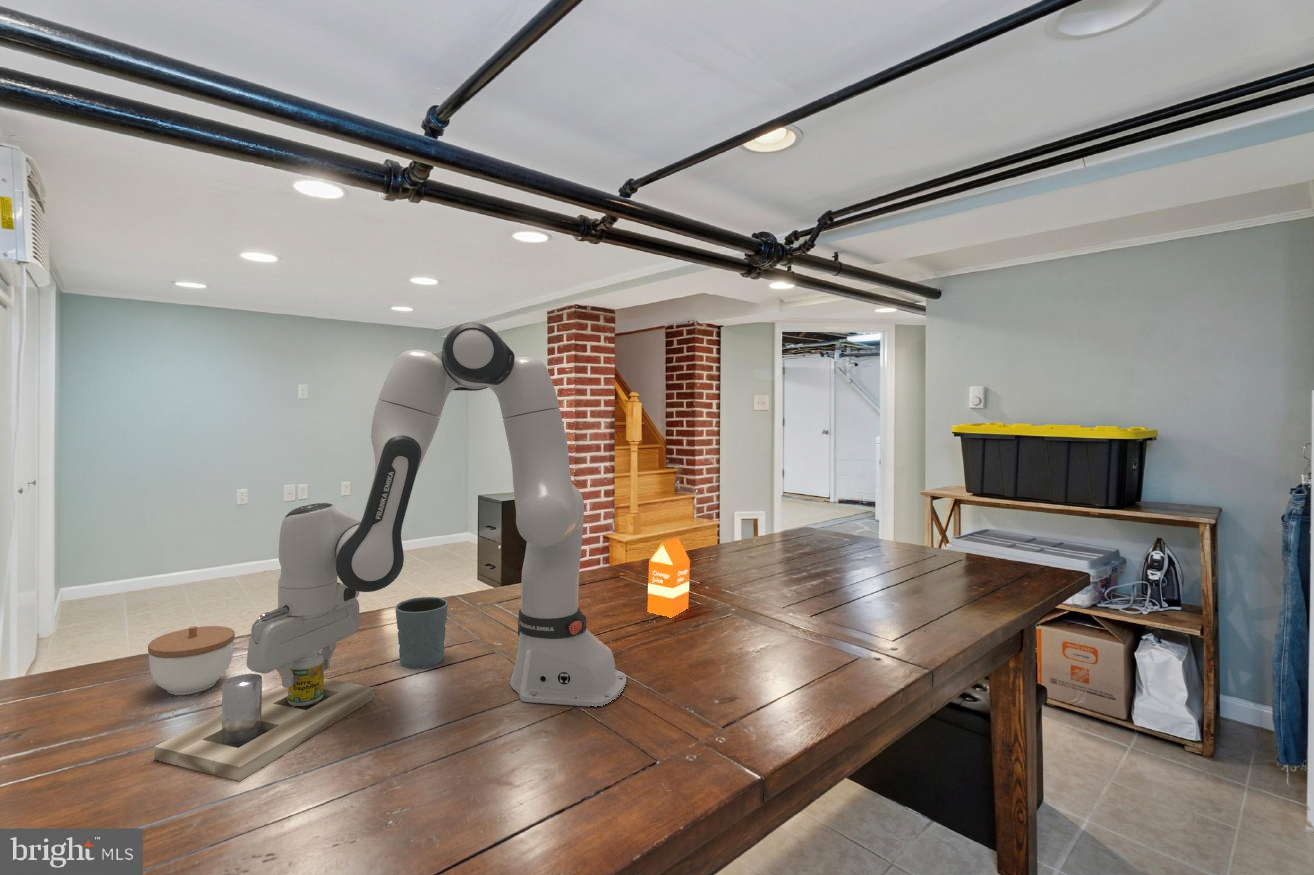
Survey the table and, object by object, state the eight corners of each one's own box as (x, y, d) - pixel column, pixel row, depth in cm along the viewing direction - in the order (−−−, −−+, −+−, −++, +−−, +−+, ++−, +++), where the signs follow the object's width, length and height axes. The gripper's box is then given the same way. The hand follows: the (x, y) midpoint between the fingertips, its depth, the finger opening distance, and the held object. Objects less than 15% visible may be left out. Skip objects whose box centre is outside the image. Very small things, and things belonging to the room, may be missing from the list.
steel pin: (269, 739, 94) (269, 676, 94) (239, 756, 89) (239, 690, 89) (244, 733, 95) (244, 671, 95) (213, 750, 91) (213, 685, 90)
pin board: (374, 698, 109) (374, 687, 109) (239, 781, 84) (239, 766, 83) (302, 685, 113) (303, 674, 113) (154, 759, 88) (154, 746, 88)
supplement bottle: (322, 690, 108) (323, 637, 107) (324, 702, 103) (326, 647, 103) (286, 696, 105) (288, 642, 104) (288, 710, 100) (289, 653, 100)
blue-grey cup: (456, 657, 128) (458, 601, 128) (419, 674, 119) (421, 614, 119) (421, 647, 132) (422, 593, 132) (383, 664, 123) (384, 606, 123)
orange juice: (688, 612, 163) (691, 539, 162) (671, 621, 155) (674, 544, 155) (664, 606, 167) (666, 535, 166) (646, 615, 159) (649, 540, 159)
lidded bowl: (250, 678, 115) (250, 621, 114) (178, 708, 103) (179, 644, 102) (204, 667, 119) (204, 612, 118) (130, 694, 107) (130, 633, 107)
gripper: (268, 619, 93) (267, 708, 93) (366, 585, 112) (364, 658, 113) (236, 614, 94) (235, 701, 95) (338, 581, 114) (337, 653, 114)
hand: (306, 677), depth 104 cm, fingers closed on supplement bottle, 5 cm apart
